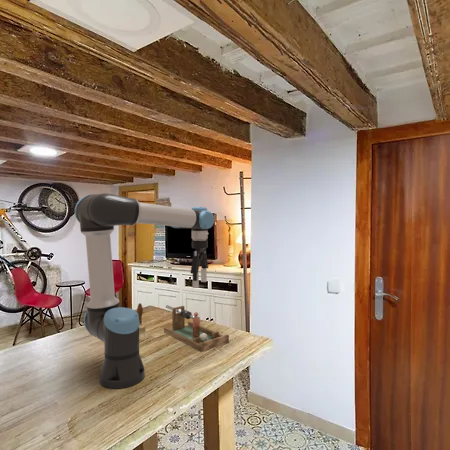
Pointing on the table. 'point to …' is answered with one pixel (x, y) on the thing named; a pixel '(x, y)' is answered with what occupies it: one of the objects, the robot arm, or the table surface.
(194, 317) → the kicker
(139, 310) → the hand bell
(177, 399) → the table surface
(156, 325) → the table surface
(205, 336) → the ball
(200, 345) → the pitch
